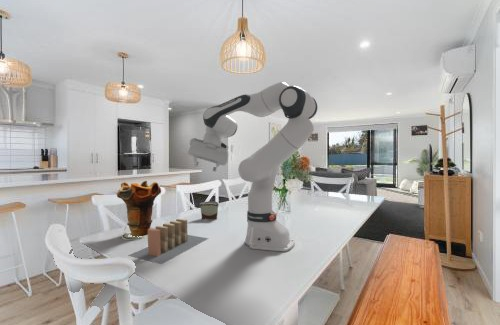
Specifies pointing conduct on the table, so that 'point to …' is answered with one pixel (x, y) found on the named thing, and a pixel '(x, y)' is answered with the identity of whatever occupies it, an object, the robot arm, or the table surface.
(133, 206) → the decorative vase
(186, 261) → the table surface
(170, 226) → the domino
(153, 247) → the domino
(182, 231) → the domino
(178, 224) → the domino
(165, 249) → the domino
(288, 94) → the robot arm
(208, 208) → the food container
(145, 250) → the mat
